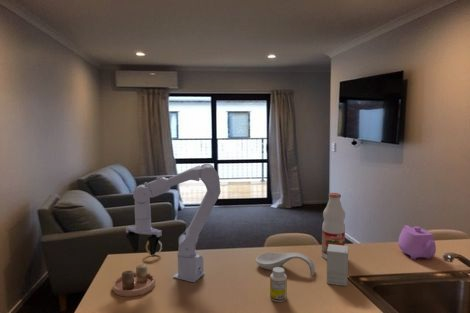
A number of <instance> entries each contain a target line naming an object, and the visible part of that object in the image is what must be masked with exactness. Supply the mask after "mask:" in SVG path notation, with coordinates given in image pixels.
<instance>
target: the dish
mask: <svg viewBox="0 0 470 313" xmlns="http://www.w3.org/2000/svg"><path fill="white" fill-rule="evenodd" d="M133 272H134V289H132V290H123V288H122V274H121V275H120V276H118V277H117V278H115V279H114V280H113V282H112V290H113V293H114V294H115V295H117V296H120V297H124V298H125V297H126V298H128V297H129V298H130V297H131V298H132V297H138V296H143V295H144V294H147V293H149V292H150V291H152V290H153V289H154V288H155V287H156V276H155V275H154V274H152V273H151V272H149V271H147V273H148V281H147V282H146V283H142V284H140V283H137V280H136V271H133Z"/></svg>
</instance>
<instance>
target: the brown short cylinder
mask: <svg viewBox="0 0 470 313" xmlns="http://www.w3.org/2000/svg"><path fill="white" fill-rule="evenodd" d="M134 272H135V271H133V270H125V271H122V273H121V275H122V288H123V290H132V289H134Z"/></svg>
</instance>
